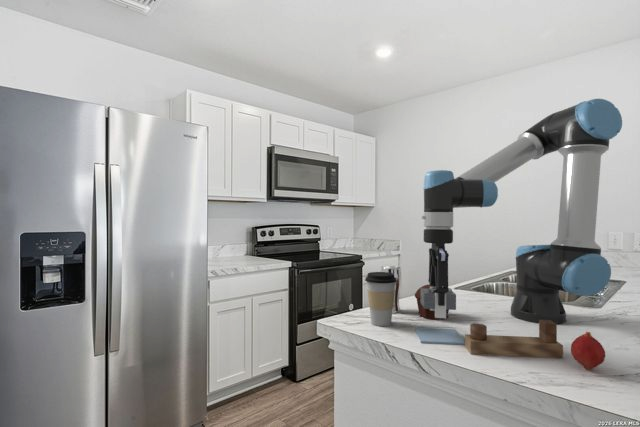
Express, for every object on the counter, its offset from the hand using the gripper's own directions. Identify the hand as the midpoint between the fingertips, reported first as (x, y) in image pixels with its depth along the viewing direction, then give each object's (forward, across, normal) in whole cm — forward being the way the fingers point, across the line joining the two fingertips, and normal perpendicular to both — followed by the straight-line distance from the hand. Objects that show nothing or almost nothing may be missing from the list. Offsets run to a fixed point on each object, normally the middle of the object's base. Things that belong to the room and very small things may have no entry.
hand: (437, 313), depth 95 cm
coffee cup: (+7, -10, -15) cm, 19 cm away
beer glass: (+6, -25, -11) cm, 28 cm away
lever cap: (-2, 0, 0) cm, 2 cm away
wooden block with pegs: (+6, +9, +15) cm, 19 cm away
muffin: (+6, -20, +2) cm, 21 cm away
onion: (+6, +17, +27) cm, 33 cm away
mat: (+6, 0, 0) cm, 6 cm away
